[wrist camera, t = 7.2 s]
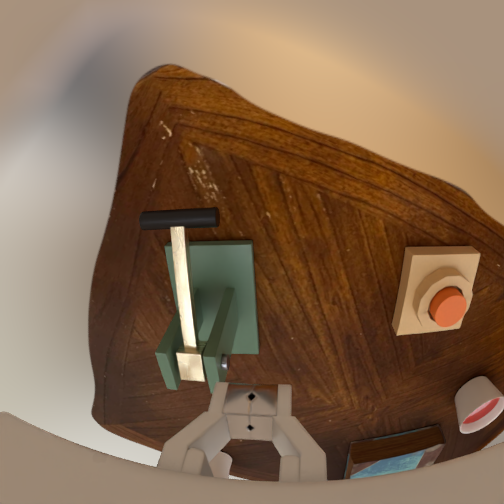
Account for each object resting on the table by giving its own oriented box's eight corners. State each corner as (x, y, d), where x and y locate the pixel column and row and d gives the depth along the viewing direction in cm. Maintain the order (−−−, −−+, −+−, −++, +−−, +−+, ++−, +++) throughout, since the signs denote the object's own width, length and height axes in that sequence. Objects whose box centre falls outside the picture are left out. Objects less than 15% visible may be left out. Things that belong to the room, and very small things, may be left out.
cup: (233, 472, 52) (224, 525, 39) (184, 458, 51) (169, 512, 39) (250, 453, 48) (241, 516, 35) (195, 438, 47) (178, 500, 35)
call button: (405, 246, 30) (419, 263, 26) (471, 245, 28) (488, 260, 25) (391, 324, 33) (400, 345, 30) (452, 318, 32) (465, 337, 29)
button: (433, 287, 27) (440, 296, 26) (463, 285, 27) (471, 293, 25) (425, 319, 29) (431, 329, 27) (454, 316, 28) (461, 325, 27)
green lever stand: (167, 241, 32) (116, 301, 21) (252, 239, 31) (235, 305, 20) (188, 345, 37) (160, 416, 27) (259, 347, 36) (249, 426, 26)
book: (412, 473, 50) (416, 489, 45) (341, 486, 53) (342, 504, 48) (439, 423, 41) (447, 443, 37) (349, 441, 44) (351, 464, 39)
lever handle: (148, 210, 24) (135, 213, 22) (220, 206, 23) (213, 208, 21) (169, 363, 27) (160, 377, 25) (231, 368, 26) (227, 383, 24)
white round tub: (446, 413, 40) (456, 439, 34) (451, 383, 37) (464, 412, 31) (487, 394, 38) (500, 418, 32) (495, 362, 35) (511, 388, 29)
